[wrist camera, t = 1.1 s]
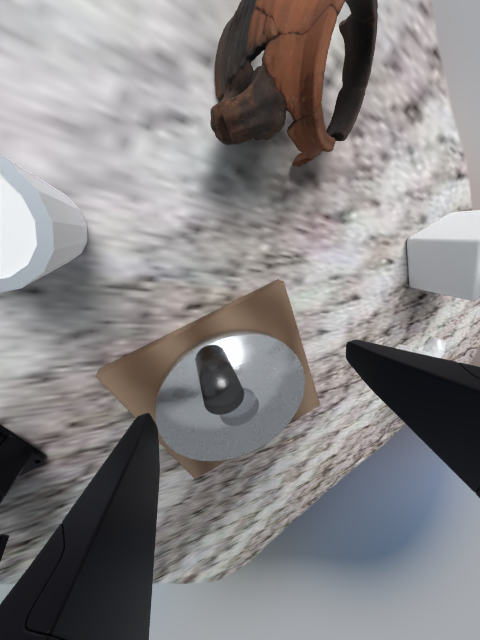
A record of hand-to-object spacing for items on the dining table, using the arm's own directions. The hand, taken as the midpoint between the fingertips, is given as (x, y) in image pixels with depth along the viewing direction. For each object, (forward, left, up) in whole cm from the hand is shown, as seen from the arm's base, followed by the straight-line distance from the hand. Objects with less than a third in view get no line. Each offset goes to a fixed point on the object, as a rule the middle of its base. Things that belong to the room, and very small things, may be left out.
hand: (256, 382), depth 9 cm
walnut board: (-2, -12, -13) cm, 18 cm away
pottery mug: (+11, +12, -14) cm, 21 cm away
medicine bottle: (+29, -8, -14) cm, 33 cm away
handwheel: (-2, -12, -12) cm, 17 cm away
